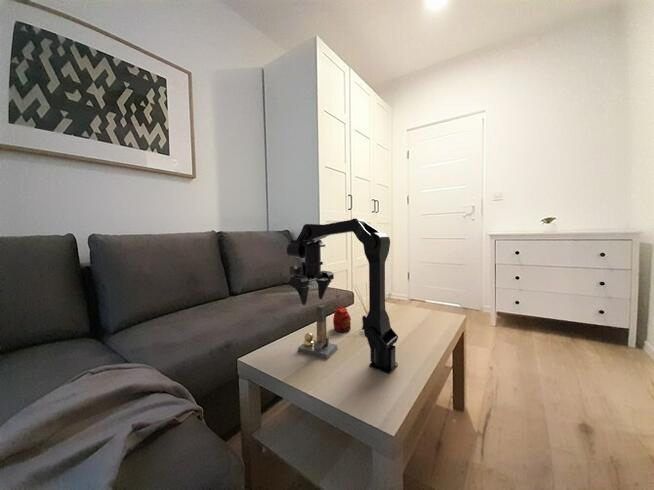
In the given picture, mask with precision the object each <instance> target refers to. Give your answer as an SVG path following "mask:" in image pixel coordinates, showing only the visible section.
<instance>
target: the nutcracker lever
mask: <svg viewBox="0 0 654 490" xmlns="http://www.w3.org/2000/svg"><path fill="white" fill-rule="evenodd" d="M326 337H327V305H325V304H319V305H317V306H316V340H317V342H321V343H322V347H323V346H324V345H325V344H326Z"/></svg>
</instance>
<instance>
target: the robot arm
mask: <svg viewBox="0 0 654 490" xmlns="http://www.w3.org/2000/svg"><path fill="white" fill-rule="evenodd" d="M347 233H353V234H354V236H355V237H356V239H357V240H358V241H359V242H360V243H362V245H363V252H364V255H365V258H366V259H367V262H368V285H369V286H368V289H369V290H368V291H369V294H368V300H369V301H368V305H369V306H368V312H367V313H365V314H364V315H362V319H361V320H362V327H361V330H362V331H363V335H364V337H366V339H367V340H366V341H367V343H368V346H369V348H370V353H369V354H370V362H369V365H368V367H369V368H372V369H375V370H378V371H380V372H384V373H386V374H391V372H393V370H394V369H395V368H396V367H397V366H398V362H397V361H396V347H397V346H396V345H395V344H396V343H397V341H398V339H399V336H398V335H397V333H396V332H395V330H393V328H392V327H391V322H390V316H389V314H388V312H387V311H386V260H387V258H388V255H389V254H390V253H389V252H390V247H391V239H390V237H389V236H388V235H387V234H386V233H383V232H380V231H379V230H378V229H376V228H375V227H373V226H372V225H370V224H369V223H368V222H366V221H365V220H364V219H362V218H352V219H347V220H343V221H337V222H331V223H330V222H329V223H326V224H320V223H319V224H316V223H315V224H314V223H305V224H304V225H303V226H302V229H301V231H300V232H299V234H298V237H297V238H296V239H291V240H290V243H289V244H288V245H287V247H286V254H287V256H288V257H290V258H297V259H304V261H302V262H301V264H300V266H297V265H295V264H294V265H291V266H289V273H290V276H292V277H289V279H288V286H290V287H292V288H293V289H295V290H296V292H297V293H298V296H299V299H300V301H301V304H302V305H303V306H306V304H307V301H308V294H309V290H310V286H309V284H310V282H314V281H315V282H316V284H317V290H318V299H319V300H322V299H323V297H324V295H325V293H326V291H327V289H328V288H329V285H330V284H331V283H332V282H333V281H332V280H334V278H335V276H334V273H333V272H332V271H328V270H321V265H322V266H323V265H324V261H321V248H322V247H323V248H324V247H325V248H326V244H325V243H324V242H323V241H322V239H325V238H327V237H328V236H333V235H340V234H347Z"/></svg>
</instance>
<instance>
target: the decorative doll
mask: <svg viewBox="0 0 654 490" xmlns="http://www.w3.org/2000/svg"><path fill="white" fill-rule="evenodd" d="M340 296H341V294H338V293H336V296H333V299H334V300H336V299H337V300H338V301H337V302H338V308H337V309H336V310H335V311H334V313H333V319H332V320H333V321H332V323H333V328H334V330H335V331H336V332H338V333H342V332H347V331H351V328H352V327H351V324H352V322H351V321H352V318H351V315H350V314H349V313H350V312H348V309H347V308H346V307H342V306H341V305H340V303H341V301H340Z"/></svg>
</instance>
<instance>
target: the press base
mask: <svg viewBox="0 0 654 490" xmlns="http://www.w3.org/2000/svg"><path fill="white" fill-rule="evenodd" d="M329 339H330V338H329V336H326V344H325V345H324V346H323V347H322V343H321V342H317V339H314V334H313V333H312V332H307V333H305V335H304V341H303V343H302V344H301V345H300V346H298V347H297V351H298V353H300V354H305V355H309V356H313V357H315V358H316V357H317V358H321V359H324V360H328V359H329V358H330V357H331V356H332V355H333V354H334V353H335V352H336V351H337V350H338V345H337V344H335V343H330V340H329Z"/></svg>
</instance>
